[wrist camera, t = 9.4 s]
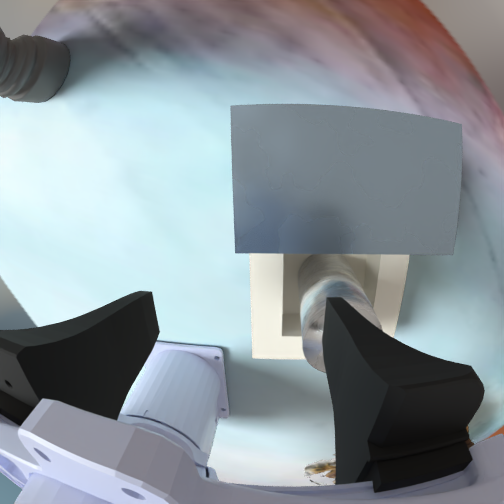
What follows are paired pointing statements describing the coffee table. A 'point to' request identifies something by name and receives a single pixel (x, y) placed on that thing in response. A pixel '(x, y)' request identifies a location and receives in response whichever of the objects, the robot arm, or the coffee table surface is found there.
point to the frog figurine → (321, 469)
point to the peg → (314, 299)
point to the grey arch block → (344, 180)
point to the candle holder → (32, 67)
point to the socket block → (287, 298)
